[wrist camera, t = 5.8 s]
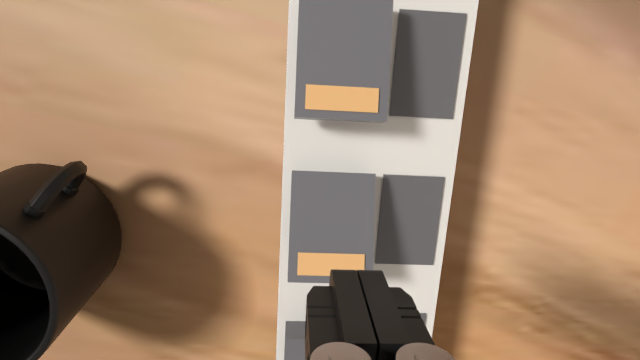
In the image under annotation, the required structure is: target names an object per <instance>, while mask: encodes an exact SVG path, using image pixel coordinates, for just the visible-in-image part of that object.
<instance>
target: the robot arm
mask: <svg viewBox="0 0 640 360" xmlns="http://www.w3.org/2000/svg"><path fill="white" fill-rule="evenodd" d="M304 342H305V360H455V359H454V357H453V356H452V355H451V354H450V353H448V352H447V351H445V350H444V349H442V348H440V347H438V346H435V344H434V342H433V340H432V338H431V336H430V334H429V332H428V330H427V328H426V325H425V323H424V321H423V319H421V315H420V313H419V311H418V310H417V307H416V305H415V303H414V301H413V299H412V297H411V296H410V295H409V294H408V293H406V292H405V291H404V290H403V289H402V288H400V287H389V286H388V283H387V281H386V278H385V276H384V274H383V271H382V270H357V271H356V270H338V269H331V271H330V280H329V286H313V287H312V289H311V290H310V291H309V293H308V294H307V299H306V320H305V340H304Z"/></svg>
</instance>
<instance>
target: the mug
mask: <svg viewBox="0 0 640 360" xmlns="http://www.w3.org/2000/svg"><path fill="white" fill-rule="evenodd" d="M86 171H87V166H86V165H85V164H84V163H83V162H82V161H75V162H70V163H68V164H66V165H65V166H63V167H58V166H54V165H47V164H25V165H20V166H15V167H12V168H10V169H7V170H5V171H2V172H0V360H38V359H39V358H40V357H41V356H42V355H43V353H44V352H45V351H46V350H47V349H48V348H49V347H50V345H51V344H52V343H53V342H54V341H55V339H56V338H57V337H58V336H59V335H60V333H61V332H62V331H63V330H64V328H65V327H66V326H67V325H68V324H69V322H70V321H71V320H72V319H73V318H74V316H75V315H76V314H77V313H78V312H79V310H80V309H81V308H82V307H83V306H84V304H85V303H86V302H87V301H88V299H89V298H90V297H91V296H92V295H93V293H94V292H95V291H96V290H97V289H98V287H99V286H100V285H101V284H102V283H103V281H104V280H105V279H106V278H107V277H108V275H109V274H110V273H111V271H112V270H113V268H114V266H115V264H116V262H117V260H118V257H119V254H120V249H121V231H120V225H119V221H118V218H117V215H116V212H115V210H114V209H113V207H112V205H111V203H110V202H109V200H108V199H107V197H106V196H105V195H104V194H103V193H102V192H101V191H100V190H99V189H98V188H97V187H96V186H95V185H94V184H93V183H91V182H90V181H89V180H88V179H86V178H85V175H86Z"/></svg>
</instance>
